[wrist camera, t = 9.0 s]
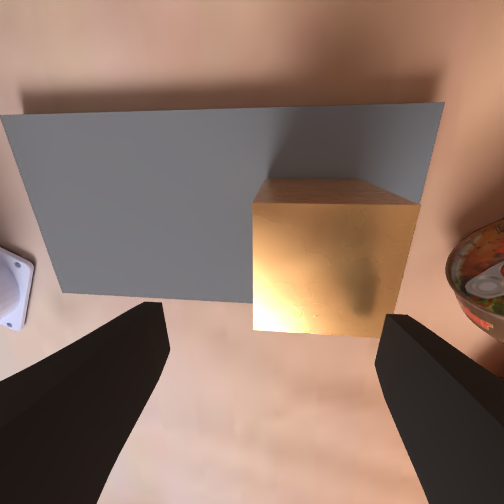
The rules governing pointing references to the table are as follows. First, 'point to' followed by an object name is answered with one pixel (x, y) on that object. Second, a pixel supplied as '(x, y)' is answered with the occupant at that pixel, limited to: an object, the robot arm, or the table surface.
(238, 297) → the mat
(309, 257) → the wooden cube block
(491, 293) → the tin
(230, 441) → the table surface
